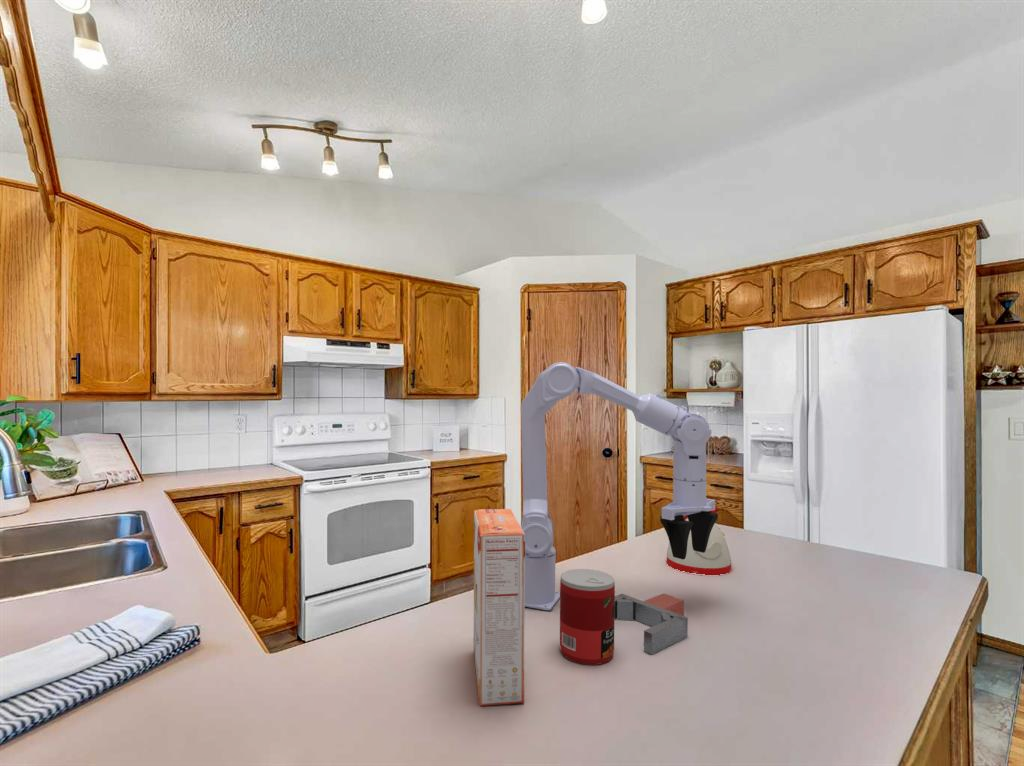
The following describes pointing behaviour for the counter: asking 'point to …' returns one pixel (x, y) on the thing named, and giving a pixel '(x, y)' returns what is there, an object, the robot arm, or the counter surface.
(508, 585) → the cracker box
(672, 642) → the clamp
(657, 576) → the counter surface
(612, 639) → the canned food
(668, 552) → the kitchen timer
